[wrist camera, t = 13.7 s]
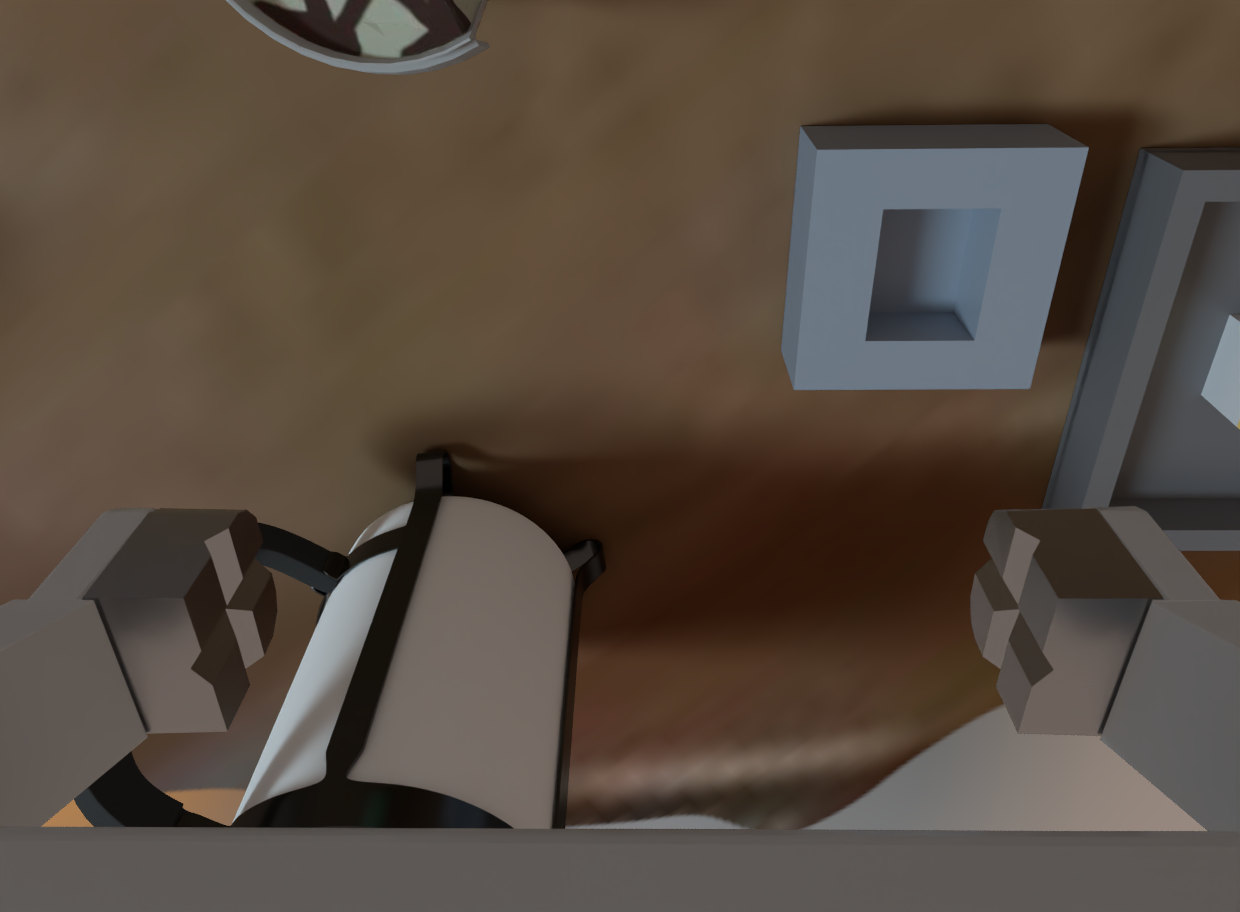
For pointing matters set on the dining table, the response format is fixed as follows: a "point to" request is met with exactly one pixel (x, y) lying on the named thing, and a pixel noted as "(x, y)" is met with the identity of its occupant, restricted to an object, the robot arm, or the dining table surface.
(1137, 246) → the parts tray
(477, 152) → the dining table surface
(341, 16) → the food container
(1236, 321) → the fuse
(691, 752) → the dining table surface
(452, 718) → the coffee press
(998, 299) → the socket block
